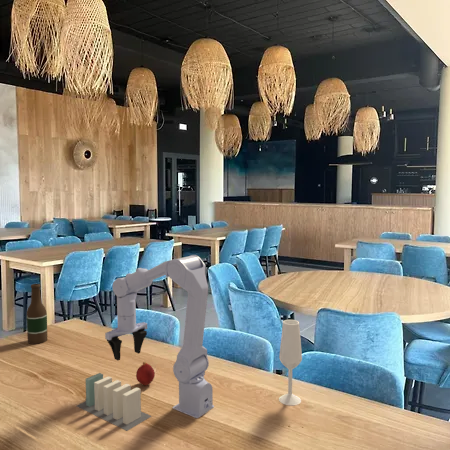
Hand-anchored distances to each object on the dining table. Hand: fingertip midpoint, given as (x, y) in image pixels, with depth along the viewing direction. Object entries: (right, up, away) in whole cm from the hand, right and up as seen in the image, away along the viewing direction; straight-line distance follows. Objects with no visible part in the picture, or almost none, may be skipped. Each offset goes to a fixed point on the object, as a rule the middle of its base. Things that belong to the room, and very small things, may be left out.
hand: (127, 356), depth 137 cm
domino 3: (-1, -11, -15) cm, 19 cm away
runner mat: (-1, -11, -15) cm, 19 cm away
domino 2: (-4, -11, -13) cm, 17 cm away
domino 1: (-7, -11, -11) cm, 17 cm away
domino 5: (+6, -11, -20) cm, 24 cm away
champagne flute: (+51, -11, -8) cm, 53 cm away
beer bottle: (-47, -7, +41) cm, 63 cm away
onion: (+6, -10, +1) cm, 12 cm away
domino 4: (+3, -11, -18) cm, 21 cm away
